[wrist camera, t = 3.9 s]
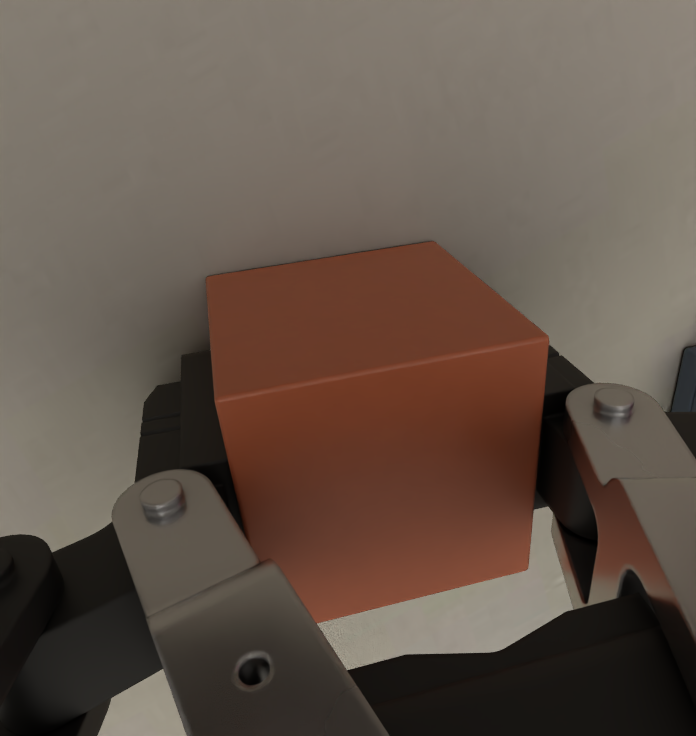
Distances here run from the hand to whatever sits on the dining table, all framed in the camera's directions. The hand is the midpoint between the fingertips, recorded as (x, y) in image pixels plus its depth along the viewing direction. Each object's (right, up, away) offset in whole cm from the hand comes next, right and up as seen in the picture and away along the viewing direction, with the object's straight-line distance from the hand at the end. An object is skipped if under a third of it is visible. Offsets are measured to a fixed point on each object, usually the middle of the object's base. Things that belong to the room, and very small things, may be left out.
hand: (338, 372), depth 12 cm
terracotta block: (0, 0, 0) cm, 0 cm away
